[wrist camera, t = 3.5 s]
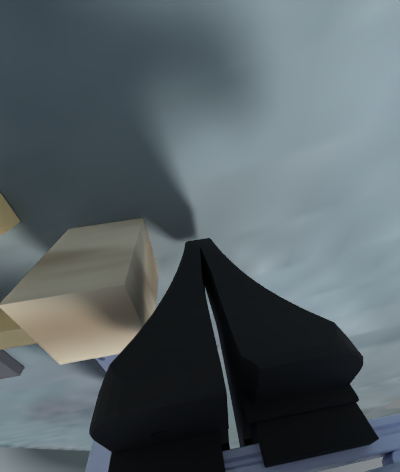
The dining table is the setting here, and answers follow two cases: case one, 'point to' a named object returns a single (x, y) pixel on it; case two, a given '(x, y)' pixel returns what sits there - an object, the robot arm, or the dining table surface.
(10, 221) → the pair of wooden bars
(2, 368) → the rubber mat
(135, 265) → the plug block
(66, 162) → the dining table surface
